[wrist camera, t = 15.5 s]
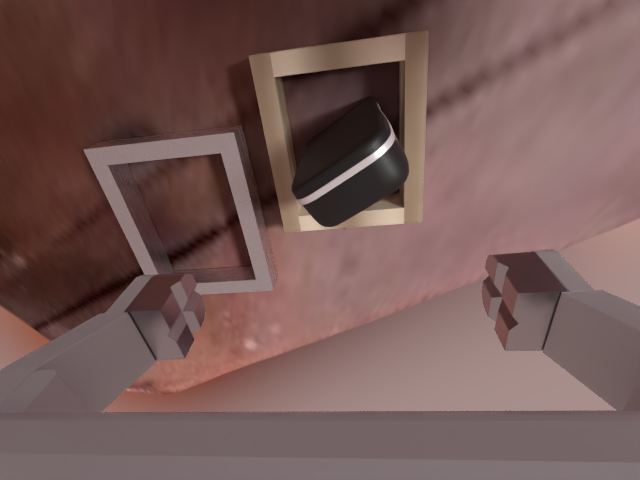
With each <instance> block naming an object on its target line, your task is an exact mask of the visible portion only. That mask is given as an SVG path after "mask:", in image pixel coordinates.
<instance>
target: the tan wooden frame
mask: <svg viewBox="0 0 640 480" xmlns="http://www.w3.org/2000/svg"><path fill="white" fill-rule="evenodd" d="M428 49H429V31H415V32H408V33H401V34H394V35H387V36H380V37H373V38H366V39H359V40H351V41H344V42H337V43H330V44H323V45H316V46H309V47H302V48H295V49H288V50H281V51H274V52H267V53H259V54H255V55H251V56H249V61H250V66H251V71H252V76H253V81H254V86H255V91H256V95H257V100H258V105H259V110H260V115H261V120H262V125H263V130H264V134H265V139H266V144H267V149H268V154H269V159H270V164H271V168H272V173H273V178H274V183H275V188H276V193H277V198H278V203H279V207H280V212H281V217H282V222H283V227H284V232H297V231H310V230H324V229H337V228H350V227H364V226H377V225H390V224H404V223H417V222H422V209H423V182H424V156H425V129H426V102H427V76H428ZM394 61H399V142H400V144H401V145H402V148H403V150H404V152H405V154H406V157H407V160H408V163H409V174H408V177H407V180H406V182H405V183H404V184H403V185H402V186H401V187H400V188H399V193H396V194H390V195H388V196H386V197H385V198H383V199H381V200H380V201H378V202H377V203H375V204H373V205H372V206H370V207H368V208H367V209H365V210H363V211H362V212H360V213H358V214H356V215H355V216H353V217H351V218H350V219H348V220H346V221H345V222H343V223H341V224H339V225H337V226H334V227H324V226H322V225H320V224H319V223H318V222H317V221H315V220H314V219H313V217H312V216H311V215H310V214H309V213H308V211H307V210H306V209H305V208H304V207H303V205H300V204H299V203H298V202H297V200H296V199H295V196H294V194H293V193H292V190H291V187H292V183H293V180H294V176H295V174H296V171H297V167H296V161H295V155H294V148H293V142H292V136H291V130H290V124H289V118H288V112H287V106H286V100H285V94H284V88H283V82H282V76H288V75H295V74H303V73H311V72H318V71H326V70H333V69H341V68H349V67H356V66H364V65H371V64H379V63H386V62H394Z"/></svg>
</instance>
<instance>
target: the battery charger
mask: <svg viewBox="0 0 640 480" xmlns="http://www.w3.org/2000/svg"><path fill="white" fill-rule="evenodd" d="M408 174H409V163H408V160H407V157H406V154H405V152H404V150H403V148H402V145H401V144H400V142H399V140H398V138H397V137H396V135H395V133H394V131H393V128H392V126H391V124H390V122H389V121H388V119H387V117H386V116H385V115H384V113H383V112H382V111H381V109H380V105H379V104H378V102H376V101H375V100H374V98H372V97H369V98H367V99H366V100H364V101H363V102H361V103H360V104H359V105H357V106H356V107H355V108H353V109H352V110H350V111H349V112H348V113H346V114H345V115H344V116H342V117H341V118H340V119H338V120H337V121H335V122H334V123H333V124H331V125H330V126H329V127H327V128H326V129H325V130H323V131H322V132H321V133H319V134H318V135H317V136H315V137H314V138H313V139H311V140H310V141H309V142H308V143H307V146H306V149H305V152H304V154H303V157H302V159H301V161H300V163H299V166H298V168H297V171H296V174H295V176H294V180H293V183H292V187H291V190H292V193H293V194H294V196H295V199H296V200H297V202H298V203H299V204H300V205H303V207H304V208H305V209H306V210H307V211H308V213H309V214H310V215H311V216H312V217H313V219H314V220H315V221H317V222H318V223H319V224H320V225H322V226H324V227H334V226H337V225H339V224H341V223H343V222H345V221H346V220H348V219H350V218H351V217H353V216H355V215H356V214H358V213H360V212H362V211H363V210H365V209H367V208H368V207H370V206H372V205H373V204H375V203H377V202H378V201H380V200H381V199H383V198H385V197H386V196H388V195H390V194H391V193H393V192H394V191H396V190H397V189H399V188H400V187H401V186H402V185H403V184H404V183H405V182H406V180H407V177H408Z"/></svg>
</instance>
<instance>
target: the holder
mask: <svg viewBox="0 0 640 480" xmlns="http://www.w3.org/2000/svg"><path fill="white" fill-rule="evenodd" d="M83 150H84V152H85V154H86V156H87V159H88V161H89V163H90V165H91V167H92V169H93V171H94V173H95V175H96V177H97V179H98V181H99V183H100V185H101V187H102V189H103V191H104V193H105V195H106V197H107V199H108V201H109V203H110V205H111V207H112V209H113V212H114V214H115V216H116V218H117V220H118V222H119V224H120V226H121V228H122V230H123V232H124V234H125V236H126V238H127V240H128V242H129V244H130V246H131V248H132V250H133V252H134V254H135V256H136V258H137V260H138V262H139V265H140V267H141V269H142V271H143V273H144V275H157V274H179V273H189V274H191V275H193V277H194V279H195V281H196V283H197V286H196V288H195V291H196V292H197V293H198V294H219V293H237V292H256V291H274V287H275V284H276V280H277V277H278V274H277V270H276V266H275V262H274V257H273V253H272V249H271V245H270V240H269V236H268V232H267V228H266V223H265V219H264V215H263V211H262V206H261V202H260V198H259V194H258V189H257V185H256V181H255V177H254V172H253V168H252V164H251V160H250V155H249V151H248V147H247V143H246V138H245V134H244V130H243V126H242V125H237V126H228V127H220V128H211V129H203V130H194V131H185V132H177V133H168V134H159V135H151V136H142V137H134V138H125V139H116V140H108V141H101V142H99V143H97V144H94V145H92V146H90V147H88V148H85V149H83ZM218 153H221V155H222V159H223V163H224V166H225V170H226V173H227V177H228V181H229V184H230V188H231V191H232V195H233V198H234V202H235V206H236V209H237V213H238V216H239V220H240V224H241V227H242V231H243V234H244V238H245V241H246V245H247V249H248V252H249V256H250V259H251V263H252V266H242V267H226V268H210V269H195V270H179V271H174V270H173V268H172V265H171V263H170V261H169V258H168V256H167V254H166V252H165V249H164V247H163V245H162V242H161V240H160V238H159V235H158V233H157V231H156V228H155V226H154V224H153V221H152V219H151V217H150V214H149V212H148V210H147V207H146V205H145V203H144V200H143V198H142V196H141V194H140V191H139V189H138V187H137V184H136V182H135V180H134V177H133V175H132V173H131V170H130V168H129V166H128V163H133V162H143V161H152V160H161V159H171V158H180V157H190V156H199V155H208V154H218Z"/></svg>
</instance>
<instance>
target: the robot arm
mask: <svg viewBox="0 0 640 480" xmlns="http://www.w3.org/2000/svg"><path fill="white" fill-rule="evenodd" d="M485 269H486V270H487V272H488V274H489V276H488V277H487V278H486V279H485V280H484V281H483V286H482V298H483V304H484V308H485V310H486V313H487V315H488V317H490V318H491V319H493V320H494V321H496V325H495V331H496V333H497V335H498V338H499V340H500V342H501V343H502V346H503V348H504V350H505V351H519V350H520V351H526V350H527V351H530V350H531V351H532V350H533V351H536V350H537V351H543V353H544V354H546V355H547V356H548V357H550V358H551V359H552V360H553V361H555V362H556V363H557V364H559V365H560V366H561V367H562V368H564V369H565V370H566V371H567V372H569V373H570V374H571V375H573V376H574V377H575V378H576V379H578V380H579V381H580V382H582V383H583V384H584V385H585V386H587V387H588V388H589V389H591V390H592V391H593V392H594V393H596V394H597V395H598V396H599V397H601V398H602V399H603V400H605V401H606V402H607V403H608V404H610V405H611V406H612V407H613V408H615V409H616V410H617V411H377V412H376V411H375V412H374V411H367V412H366V411H363V412H362V411H358V412H357V411H356V412H354V411H353V412H352V411H351V412H350V411H349V412H102V411H103V410H104V409H105V408H106V407H107V406H108V405H109V404H111V403H112V402H113V401H114V400H115V399H116V398H117V397H118V396H119V395H121V394H122V393H123V392H124V391H125V390H126V389H127V388H128V387H129V386H130V385H132V384H133V383H134V382H135V381H136V380H137V379H138V378H139V377H140V376H141V375H143V374H144V373H145V372H146V371H147V370H148V369H149V368H150V367H151V366H152V365H154V364H155V363H156V360H174V359H185V358H186V356H187V354H188V352H189V350H190V348H191V346H192V344H193V342H194V337H193V333H194V332H196V331H197V330H198V329H200V328H201V326H202V324H203V321H204V318H205V311H206V310H205V303H204V300H203V298H202V296H201V295H200V294H198V293H197V292H196V291H195V288H196V286H197V283H196V281H195V279H194V277H193V275H191V274H189V273H179V274H157V275H141V276H138V277H136V278H135V279H134V280H133V282H132V283H131V284H130V285H129V286H128V287H127V288H126V290H125V291H124V292H123V293H122V294H121V295H120V296H119V298H118V299H117V300H116V301H115V302H114V303H113V304H112V306H111V307H110V308H109V309H108V310H107V311H106V312H105V313H103V314H98V315H96V316H95V317H93V318H91V319H89V320H87V321H86V322H84V323H82V324H80V325H79V326H77V327H75V328H73V329H72V330H70V331H68V332H66V333H65V334H63V335H61V336H59V337H57V338H56V339H54V340H52V341H50V342H49V343H47V344H45V345H44V346H42V347H40V348H38V349H36V350H35V351H33V352H31V353H29V354H28V355H26V356H24V357H22V358H20V359H19V360H17V361H15V362H13V363H12V364H10V365H8V366H6V367H5V368H3V369H1V371H0V480H640V306H638V305H635V304H633V303H631V302H628V301H626V300H624V299H621V298H619V297H617V296H615V295H612V294H610V293H607V292H605V291H603V290H594V289H593V288H592V287H591V286H590V285H589V284H588V283H587V282H586V281H585V280H584V279H583V278H582V276H580V274H579V273H578V272H577V271H575V269H574V268H573V267H572V266H571V265H570V264H569V263H568V262H567V261H566V260H565V259H564V257H562V255H561V254H560V253H559V252H558V251H555V250H553V249H551V250H540V251H531V252H522V253H508V254H494V255H489V256H488V258H487V260H486V266H485Z"/></svg>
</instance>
